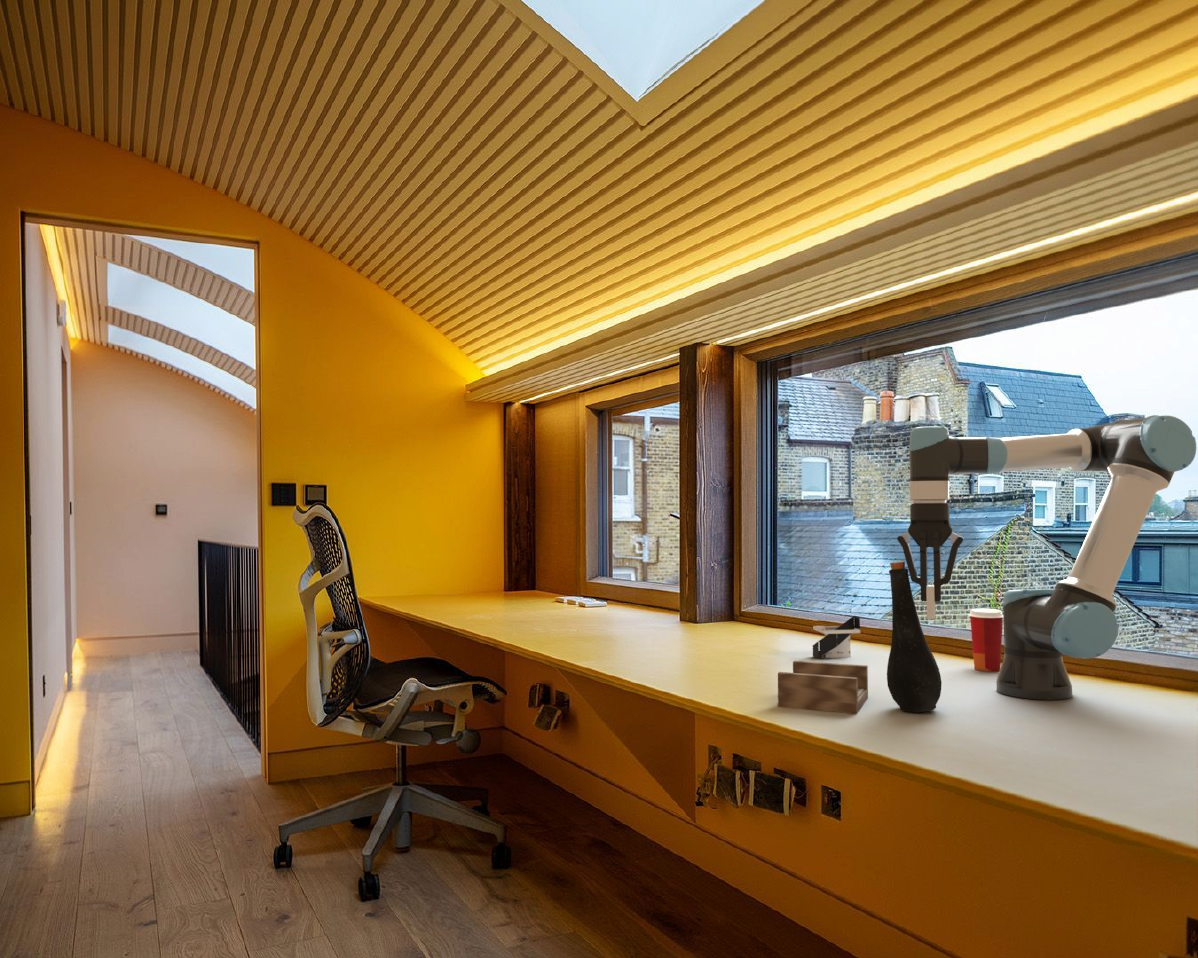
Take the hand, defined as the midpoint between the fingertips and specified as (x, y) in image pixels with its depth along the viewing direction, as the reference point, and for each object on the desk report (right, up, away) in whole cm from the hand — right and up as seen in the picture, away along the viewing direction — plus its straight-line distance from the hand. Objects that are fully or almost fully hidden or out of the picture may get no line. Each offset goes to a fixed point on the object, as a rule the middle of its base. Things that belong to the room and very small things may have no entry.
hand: (931, 617), depth 180 cm
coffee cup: (+31, -20, +44) cm, 57 cm away
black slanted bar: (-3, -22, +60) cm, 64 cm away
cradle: (-20, -19, +9) cm, 29 cm away
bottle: (-2, -19, +1) cm, 19 cm away
